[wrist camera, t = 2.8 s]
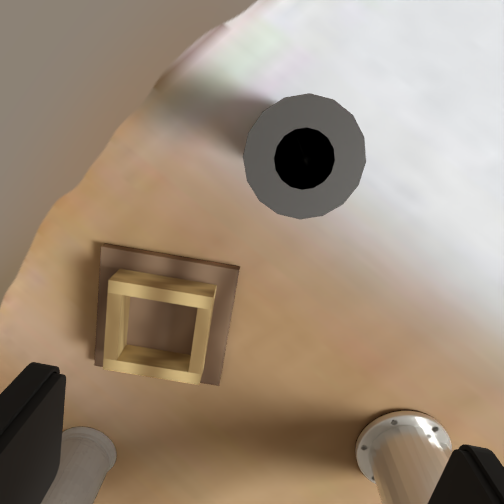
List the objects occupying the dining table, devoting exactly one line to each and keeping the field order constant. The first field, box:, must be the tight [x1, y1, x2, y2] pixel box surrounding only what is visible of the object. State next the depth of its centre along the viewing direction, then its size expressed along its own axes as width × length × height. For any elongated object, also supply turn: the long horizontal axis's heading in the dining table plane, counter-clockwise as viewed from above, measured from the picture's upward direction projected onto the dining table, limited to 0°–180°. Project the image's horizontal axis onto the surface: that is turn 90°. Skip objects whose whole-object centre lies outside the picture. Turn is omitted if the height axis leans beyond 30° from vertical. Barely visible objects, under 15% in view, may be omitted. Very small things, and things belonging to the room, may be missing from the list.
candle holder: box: [243, 93, 366, 219], centre depth 30 cm, size 6×6×25 cm
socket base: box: [95, 244, 240, 386], centre depth 47 cm, size 16×16×5 cm
